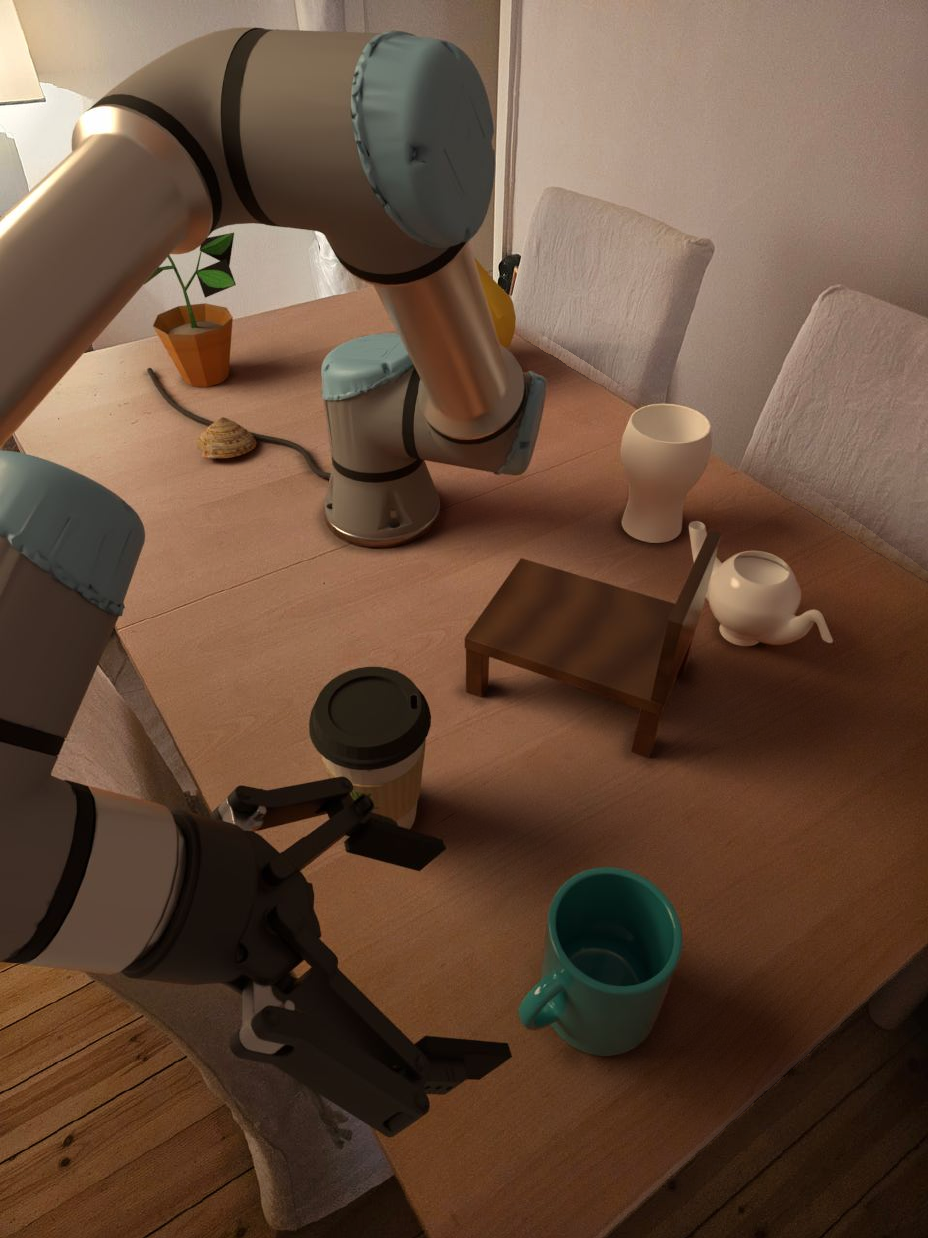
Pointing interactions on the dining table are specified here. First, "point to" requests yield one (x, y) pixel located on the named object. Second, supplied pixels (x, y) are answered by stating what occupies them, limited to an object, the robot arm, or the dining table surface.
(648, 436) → the cup
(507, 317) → the vase
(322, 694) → the coffee cup
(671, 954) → the cup
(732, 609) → the teapot
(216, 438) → the seashell
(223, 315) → the potted plant
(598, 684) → the wooden toy chair
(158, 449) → the dining table surface
